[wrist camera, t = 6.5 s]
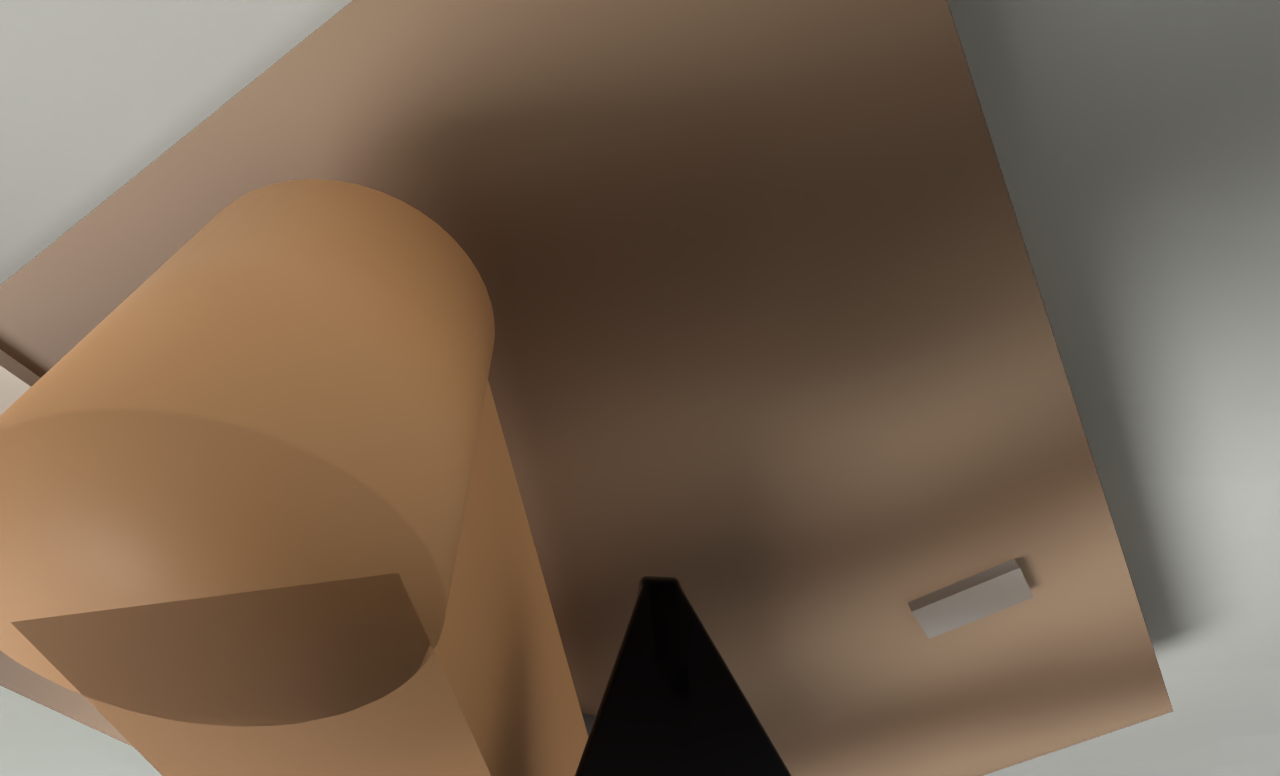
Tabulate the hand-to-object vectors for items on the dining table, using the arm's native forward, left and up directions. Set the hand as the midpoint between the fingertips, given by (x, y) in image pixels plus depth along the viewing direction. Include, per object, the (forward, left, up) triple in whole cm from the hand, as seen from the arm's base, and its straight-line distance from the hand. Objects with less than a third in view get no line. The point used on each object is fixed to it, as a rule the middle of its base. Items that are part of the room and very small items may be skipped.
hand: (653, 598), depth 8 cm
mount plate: (-3, +3, -4) cm, 6 cm away
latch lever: (-1, +4, -1) cm, 4 cm away
